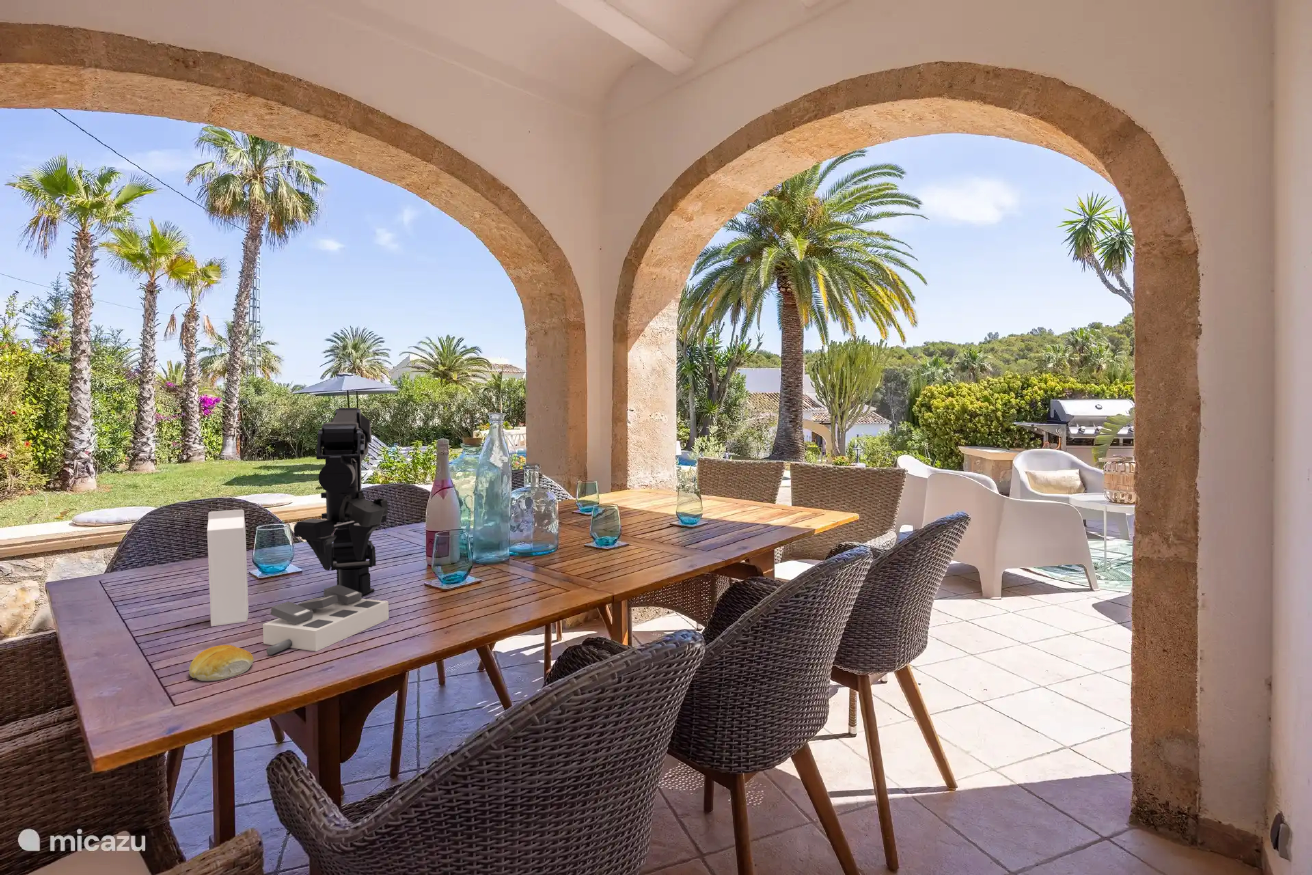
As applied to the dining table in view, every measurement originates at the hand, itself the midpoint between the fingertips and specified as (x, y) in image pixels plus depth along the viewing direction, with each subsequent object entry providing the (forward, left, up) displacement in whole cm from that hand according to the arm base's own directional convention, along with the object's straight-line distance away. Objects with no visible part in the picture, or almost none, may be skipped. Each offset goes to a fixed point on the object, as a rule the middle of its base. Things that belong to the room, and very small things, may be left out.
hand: (344, 564), depth 130 cm
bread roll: (0, -26, -12) cm, 29 cm away
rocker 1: (0, -12, -6) cm, 14 cm away
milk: (-22, -7, -11) cm, 26 cm away
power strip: (+2, -8, -11) cm, 14 cm away
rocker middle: (0, -6, -6) cm, 9 cm away
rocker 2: (0, 0, -6) cm, 6 cm away
